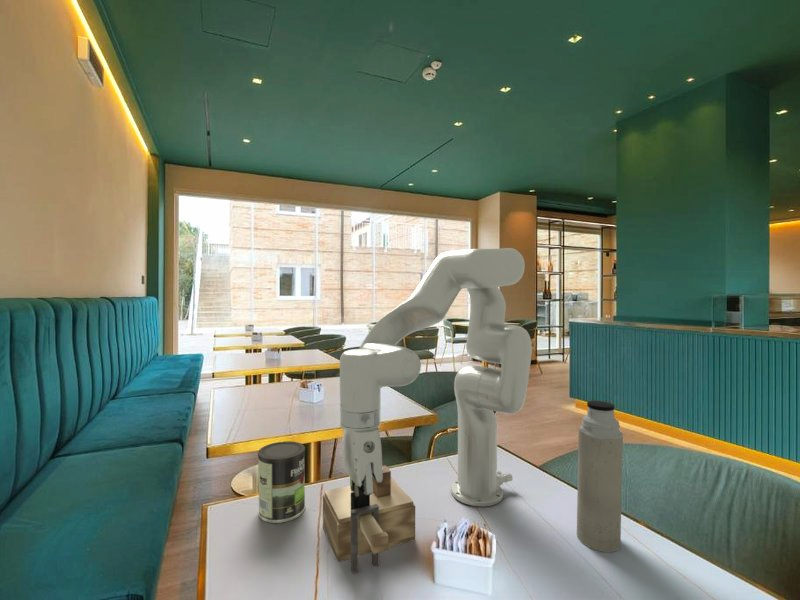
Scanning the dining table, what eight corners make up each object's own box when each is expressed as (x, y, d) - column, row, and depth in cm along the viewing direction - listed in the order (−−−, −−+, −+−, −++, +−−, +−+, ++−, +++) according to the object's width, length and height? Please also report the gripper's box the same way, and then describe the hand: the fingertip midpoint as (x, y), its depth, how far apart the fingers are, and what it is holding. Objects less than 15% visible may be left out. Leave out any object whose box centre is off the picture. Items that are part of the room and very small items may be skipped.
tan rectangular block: (369, 521, 74) (369, 508, 74) (388, 549, 66) (388, 535, 66) (356, 524, 73) (356, 511, 73) (373, 554, 65) (373, 539, 65)
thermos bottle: (602, 525, 86) (605, 396, 85) (629, 550, 78) (633, 407, 77) (568, 529, 85) (571, 398, 84) (592, 554, 77) (595, 409, 76)
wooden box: (391, 509, 92) (392, 462, 92) (424, 551, 78) (424, 495, 77) (322, 526, 86) (322, 475, 85) (344, 576, 71) (344, 515, 71)
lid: (391, 485, 92) (391, 455, 91) (413, 510, 81) (413, 477, 81) (324, 499, 85) (324, 467, 85) (339, 529, 75) (339, 493, 75)
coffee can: (312, 501, 96) (312, 442, 95) (292, 526, 86) (292, 461, 85) (273, 496, 98) (272, 439, 97) (249, 520, 88) (248, 456, 87)
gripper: (394, 426, 69) (394, 531, 70) (365, 403, 83) (365, 491, 83) (353, 433, 66) (353, 542, 67) (330, 408, 80) (330, 498, 80)
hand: (360, 513), depth 75 cm, fingers closed
